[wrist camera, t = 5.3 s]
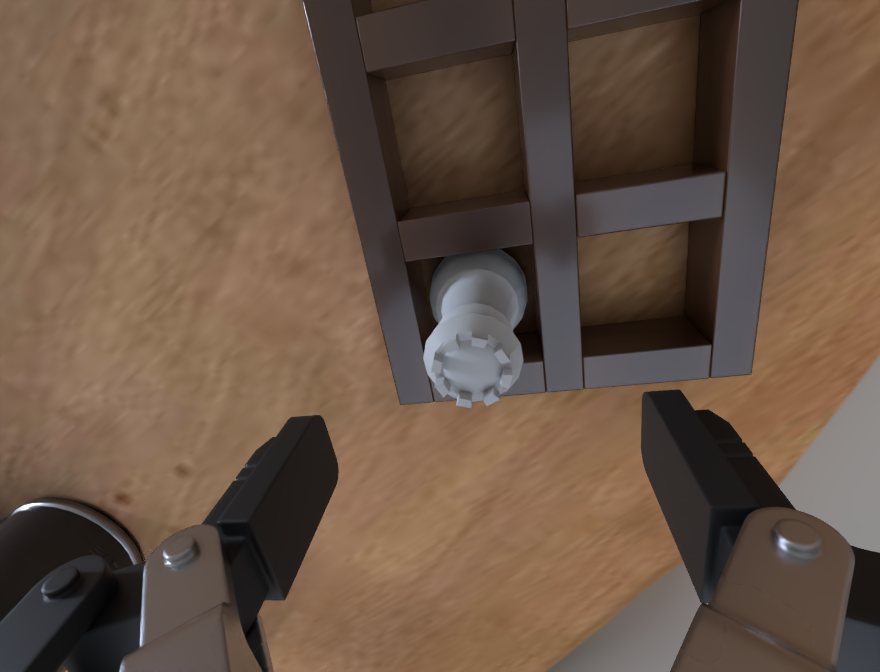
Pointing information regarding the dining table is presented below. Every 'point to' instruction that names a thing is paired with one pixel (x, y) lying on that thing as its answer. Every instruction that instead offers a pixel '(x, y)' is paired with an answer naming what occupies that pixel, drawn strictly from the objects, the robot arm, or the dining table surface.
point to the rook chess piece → (476, 326)
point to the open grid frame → (566, 180)
